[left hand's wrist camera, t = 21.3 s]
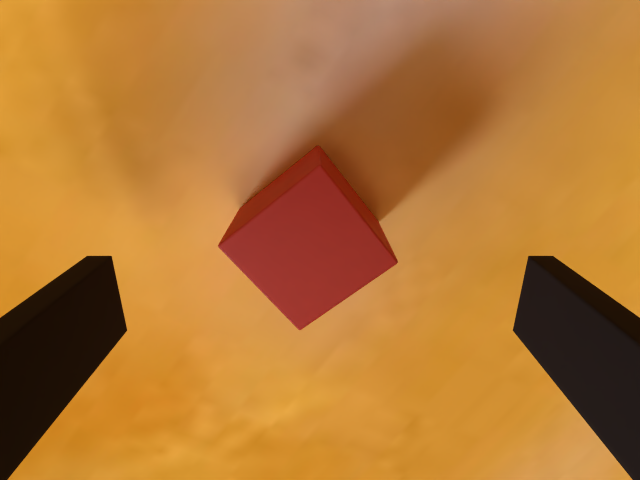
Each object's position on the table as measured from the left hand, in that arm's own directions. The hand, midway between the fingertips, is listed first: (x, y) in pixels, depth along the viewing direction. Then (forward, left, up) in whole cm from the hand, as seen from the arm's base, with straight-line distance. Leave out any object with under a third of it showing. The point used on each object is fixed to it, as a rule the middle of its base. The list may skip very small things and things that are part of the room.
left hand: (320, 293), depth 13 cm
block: (0, 0, -7) cm, 7 cm away
